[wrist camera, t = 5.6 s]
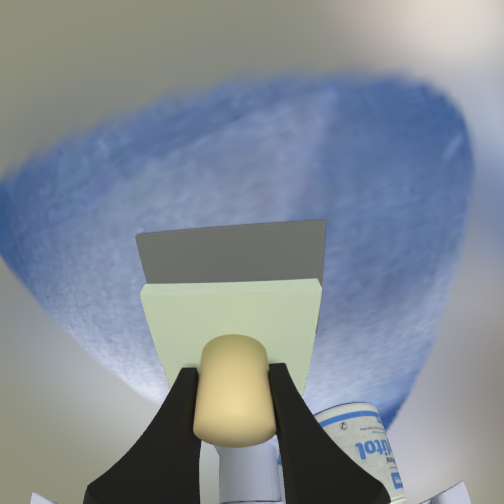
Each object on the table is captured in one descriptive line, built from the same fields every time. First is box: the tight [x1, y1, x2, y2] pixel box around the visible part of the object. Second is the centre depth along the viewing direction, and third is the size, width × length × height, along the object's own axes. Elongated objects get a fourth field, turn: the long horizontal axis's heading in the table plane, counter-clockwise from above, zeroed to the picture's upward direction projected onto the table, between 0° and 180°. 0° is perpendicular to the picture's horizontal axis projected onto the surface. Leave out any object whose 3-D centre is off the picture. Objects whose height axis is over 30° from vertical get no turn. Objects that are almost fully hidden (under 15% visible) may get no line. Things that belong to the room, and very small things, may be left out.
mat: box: [135, 219, 326, 334], centre depth 17 cm, size 8×11×1 cm
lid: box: [140, 278, 322, 448], centre depth 11 cm, size 7×7×6 cm
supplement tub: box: [314, 403, 406, 504], centre depth 20 cm, size 10×10×15 cm
